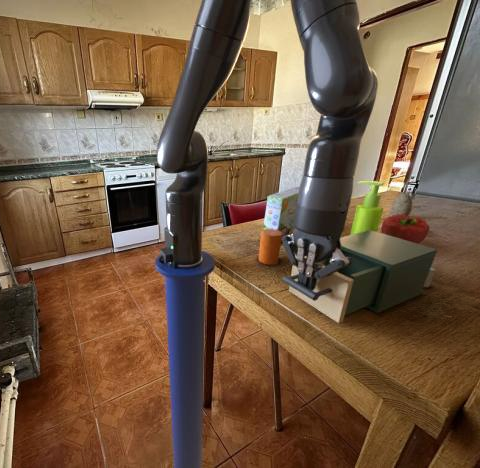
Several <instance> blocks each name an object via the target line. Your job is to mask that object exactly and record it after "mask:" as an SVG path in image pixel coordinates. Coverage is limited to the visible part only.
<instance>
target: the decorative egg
mask: <svg viewBox="0 0 480 468" xmlns="http://www.w3.org/2000/svg"><path fill="white" fill-rule="evenodd" d="M412 209H413V200H412V197H411V195H410V194H409V193H407V192H403V193H401V194H399V195H398V196H397V197H396V198H395V200H394V201H393V202H392V204H391V206H390V211H389V212H390V215H391V217H392V216H394V215H398V214H402V215H407V216H410V214H411V212H412Z"/></svg>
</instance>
